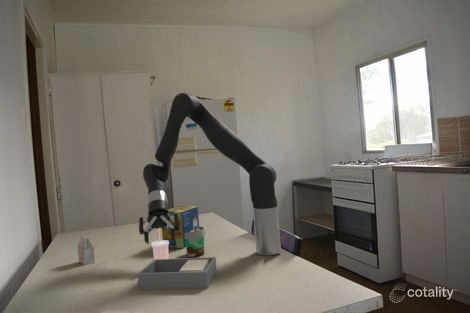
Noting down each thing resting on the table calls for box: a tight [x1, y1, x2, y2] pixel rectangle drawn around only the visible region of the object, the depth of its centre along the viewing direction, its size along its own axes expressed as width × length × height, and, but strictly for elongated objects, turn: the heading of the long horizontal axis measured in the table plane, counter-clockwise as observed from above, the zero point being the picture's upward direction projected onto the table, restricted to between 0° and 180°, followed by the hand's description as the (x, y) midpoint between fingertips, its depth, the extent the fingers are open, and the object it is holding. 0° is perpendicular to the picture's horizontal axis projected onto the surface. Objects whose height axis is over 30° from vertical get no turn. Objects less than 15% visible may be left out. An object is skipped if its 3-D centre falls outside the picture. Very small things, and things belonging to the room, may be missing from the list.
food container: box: [185, 225, 207, 258], centre depth 135 cm, size 12×6×10 cm, turn 168°
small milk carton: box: [77, 235, 96, 266], centre depth 136 cm, size 4×7×10 cm, turn 43°
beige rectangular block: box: [179, 259, 209, 272], centre depth 105 cm, size 7×10×4 cm
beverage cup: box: [151, 228, 170, 260], centre depth 122 cm, size 6×6×14 cm
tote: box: [136, 256, 218, 291], centre depth 106 cm, size 21×14×6 cm, turn 82°
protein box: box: [161, 205, 200, 249], centre depth 154 cm, size 10×15×16 cm
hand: (160, 241), depth 123 cm, fingers open, 8 cm apart
